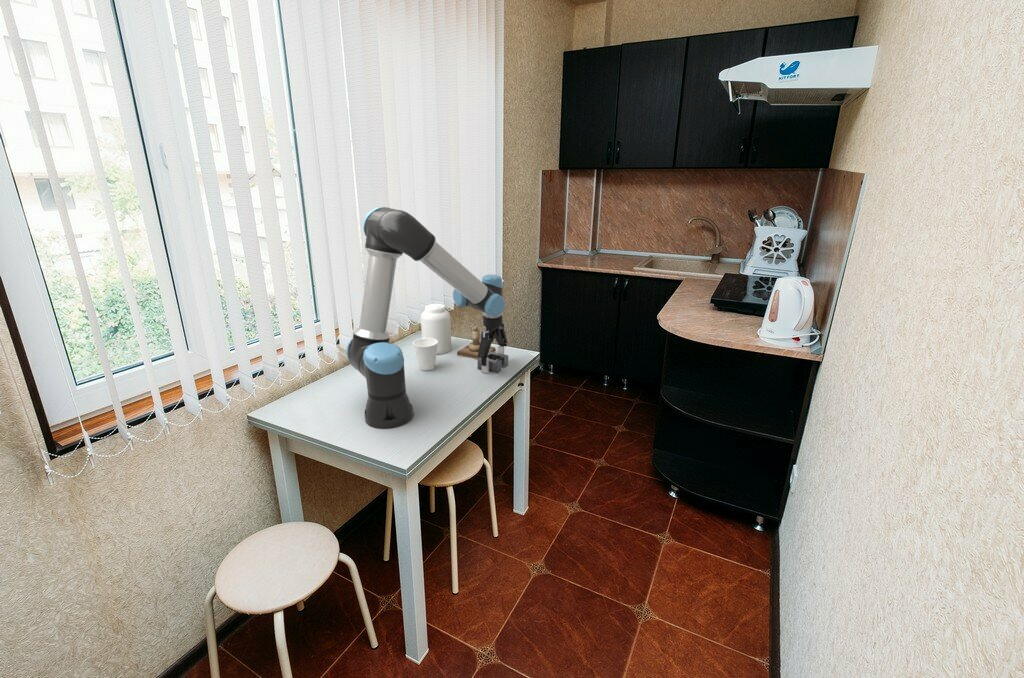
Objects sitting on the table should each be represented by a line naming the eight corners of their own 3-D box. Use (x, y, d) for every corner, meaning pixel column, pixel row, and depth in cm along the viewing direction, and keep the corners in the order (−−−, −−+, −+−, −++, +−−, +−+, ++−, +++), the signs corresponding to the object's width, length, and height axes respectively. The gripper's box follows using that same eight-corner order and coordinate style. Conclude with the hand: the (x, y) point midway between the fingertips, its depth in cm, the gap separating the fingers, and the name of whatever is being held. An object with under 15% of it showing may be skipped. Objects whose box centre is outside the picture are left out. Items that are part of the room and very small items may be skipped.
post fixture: (481, 360, 197) (480, 332, 192) (456, 354, 202) (456, 328, 198) (495, 350, 207) (495, 324, 202) (471, 345, 212) (471, 320, 208)
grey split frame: (508, 365, 192) (508, 355, 190) (497, 373, 184) (497, 362, 183) (489, 361, 196) (488, 351, 194) (477, 369, 188) (477, 358, 186)
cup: (437, 373, 184) (435, 346, 180) (411, 372, 184) (409, 346, 181) (441, 363, 193) (440, 337, 190) (417, 362, 194) (415, 337, 190)
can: (456, 346, 211) (454, 303, 204) (444, 356, 200) (442, 311, 193) (430, 343, 215) (428, 300, 208) (417, 353, 204) (414, 308, 197)
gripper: (485, 325, 171) (486, 380, 178) (515, 308, 191) (515, 358, 198) (467, 322, 174) (469, 376, 181) (499, 306, 194) (499, 354, 201)
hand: (493, 366), depth 190 cm, fingers open, 12 cm apart
